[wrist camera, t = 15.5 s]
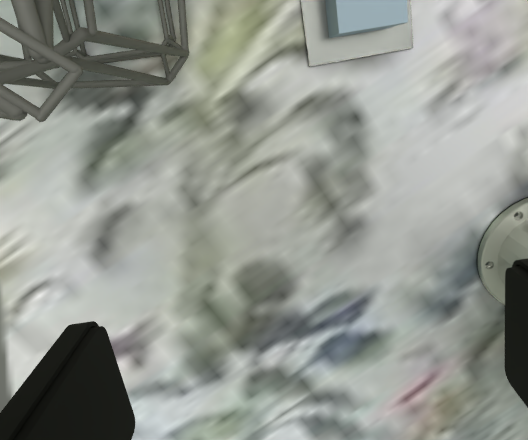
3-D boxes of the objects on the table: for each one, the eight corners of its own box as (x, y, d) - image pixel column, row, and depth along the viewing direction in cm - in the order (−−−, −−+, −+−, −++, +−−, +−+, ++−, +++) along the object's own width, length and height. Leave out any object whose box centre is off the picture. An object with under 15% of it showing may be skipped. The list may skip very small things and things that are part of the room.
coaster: (404, -70, 36) (406, -72, 36) (411, 48, 39) (413, 47, 39) (294, -48, 37) (294, -50, 36) (309, 66, 40) (309, 66, 39)
